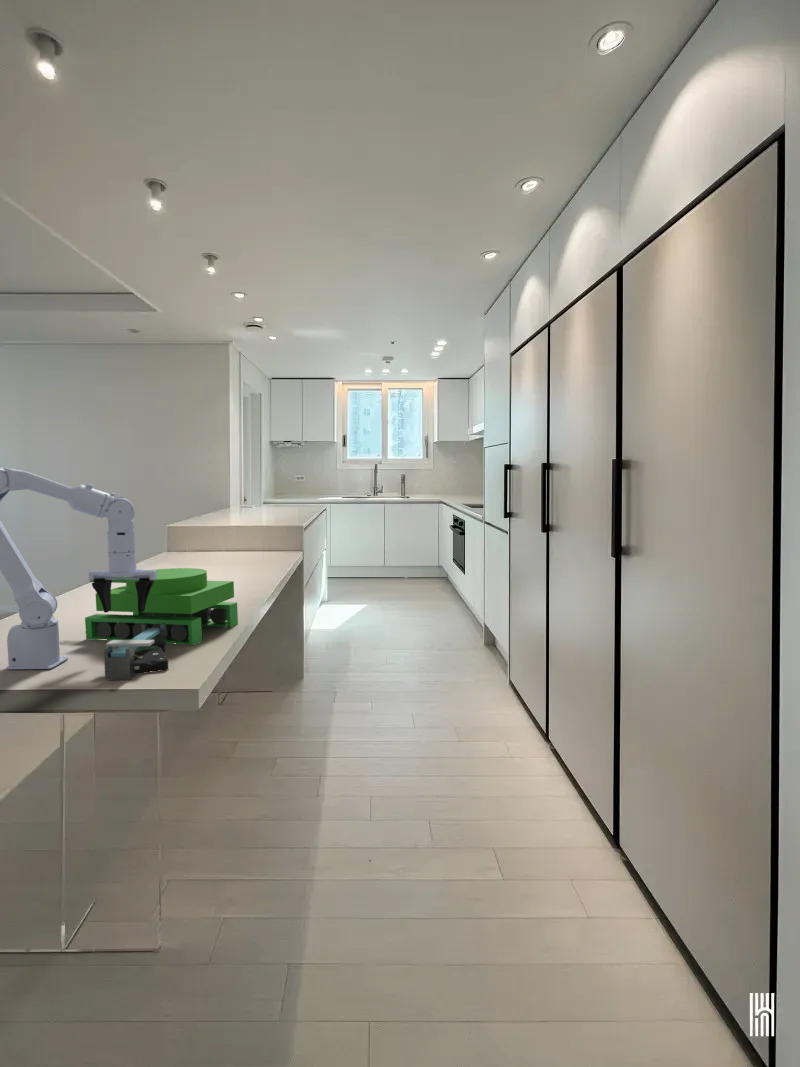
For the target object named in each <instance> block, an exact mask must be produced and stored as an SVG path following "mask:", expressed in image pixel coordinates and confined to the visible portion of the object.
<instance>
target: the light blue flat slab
mask: <svg viewBox="0 0 800 1067" xmlns="http://www.w3.org/2000/svg"><path fill="white" fill-rule="evenodd" d="M159 633H161V628H147V630H145V631H144V632H142V633H140V634H139V635H137V636H136V637H134V638H133V639H131V640H111V641H108V642H107V643H106V644H105V648H106V647H107V646H112V647H118V648H115V649H116V650H114V649H113V652H111V657H126V650H125V649H126V648H127V647H129V646H134V651H135V650H136V649H137V648H139V647H140V646H150V645H152V644H153V643H154V640H150V639H152V638H153V637H154V636H156V635H157V634H159Z"/></svg>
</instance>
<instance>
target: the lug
mask: <svg viewBox="0 0 800 1067" xmlns="http://www.w3.org/2000/svg"><path fill="white" fill-rule="evenodd" d="M125 650H126V657H111V652H113V651H114V649H113V646H107V647H106V646H105V648H103V658H104V678H105V679H104V680H105V681H131V680H132V679H133V678H135V677H136V676H135V675H136V674H135V669H134V646H129V647H127V648H126V649H125Z"/></svg>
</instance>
